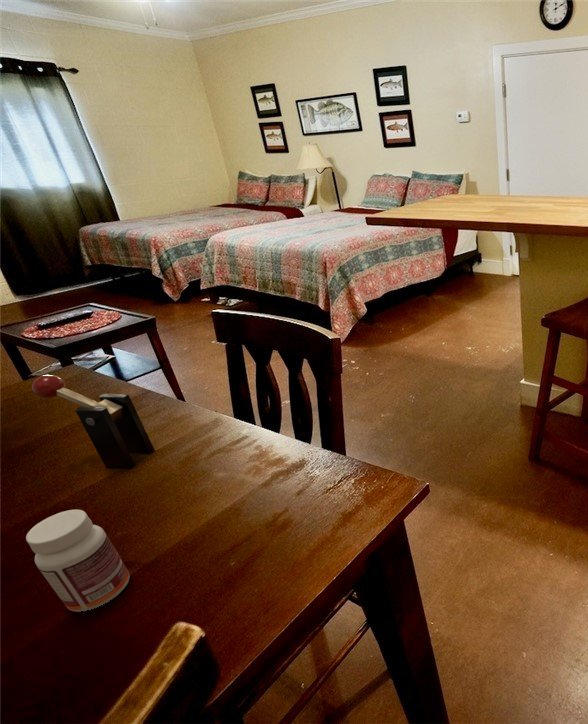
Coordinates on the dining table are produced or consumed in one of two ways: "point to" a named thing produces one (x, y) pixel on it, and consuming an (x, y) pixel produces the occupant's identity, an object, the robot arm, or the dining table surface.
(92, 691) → the dining table surface
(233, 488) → the dining table surface
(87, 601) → the pill bottle
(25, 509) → the dining table surface
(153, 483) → the dining table surface
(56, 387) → the lever
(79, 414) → the bracket
